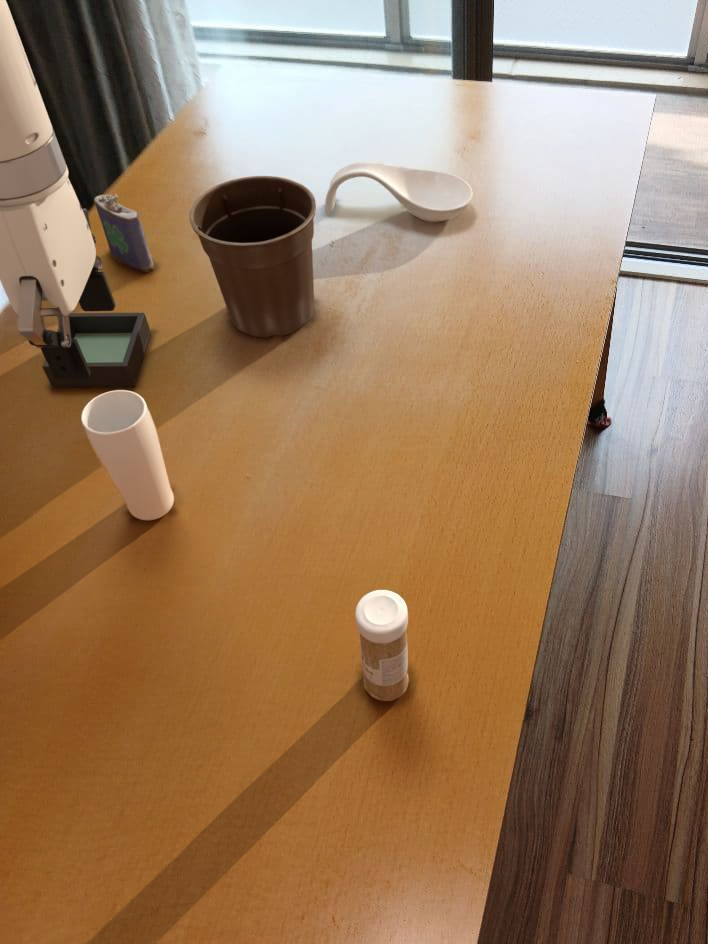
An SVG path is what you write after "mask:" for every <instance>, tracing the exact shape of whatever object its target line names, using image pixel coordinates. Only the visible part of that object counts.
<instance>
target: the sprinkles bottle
mask: <svg viewBox="0 0 708 944" xmlns="http://www.w3.org/2000/svg"><path fill="white" fill-rule="evenodd" d="M354 613H355V625H356V628H357V630H358V633H359V638H360V639H359V640H360V642H359V643H360V644H359V645H360V653H361V663H362V671H363V679H362V681H363V687H364V689H365V691H366V692H367V694H368V695H369V696H371V697H372V698H373V699H375V700H376V701H381V702H392V701H395V700H397V699H399V698H401V697H402V696H403V695H404V694H405V692H407V689H408V688H409V687H408V686H409V684H410V683H409V682H410V678H409V672H408V668H409V656H408V655H409V654H408V649H409V648H408V635H407V627H408V624H409V611H408V606H407V603H406V602H405V600H404V598H403V597H402V596H400V594H398V593H396V592H394V591H391V590H388V589H377V590H372V591H370V592H368V593H366V594H364V596H362V597H361V599H360V600H359V601H358V603H357V604H356V607H355V612H354Z"/></svg>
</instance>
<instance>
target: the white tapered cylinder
mask: <svg viewBox="0 0 708 944" xmlns="http://www.w3.org/2000/svg"><path fill="white" fill-rule="evenodd" d="M80 421H81V424H82V427H83V429H84V432H85V434H86V437H87V439H88V442H89V444H90V445H91V448H92V450H93V452H94V453H95V455H96V457H97V458H98V460H99V462H100V463H101V465H102V467H103V468H104V470H105V472H106V473H107V475H108V477H109V478H110V480H111V481H112V483H113V485H114V487H115V488H116V490H117V492H118V493H119V495H120V496H121V498H122V501H124V503H125V506H126V508H127V510H128V512H129V513H130V514H131V516H132V517H134V518H136V519H138V520H141V521H154V520H158V519H160V518H162V517H164V516H166V515H167V514H168V513H169V512H170V511H171V510H172V508H173V506H174V504H175V503H174V502H175V495H174V492H173V489H172V487H171V483H170V480H169V475H168V471H167V467H166V463H165V459H164V454H163V450H162V446H161V443H160V438H159V434H158V430H157V427H156V425H155V422H154V419H153V417H152V414H151V412H150V409H149V407H148V405H147V403H146V400H145V398H143V396H141V395H140V394H139V393H137V392H135V391H131V390H126V389H115V390H110V391H107V392H104V393H101V394H99V395H97V396H95V397H94V398H92V399H91V400H90V401H88V403H87V404H86V405H85V406H84V408H83V409H82V411H81V416H80Z"/></svg>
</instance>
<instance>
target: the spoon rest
mask: <svg viewBox="0 0 708 944" xmlns="http://www.w3.org/2000/svg"><path fill="white" fill-rule="evenodd" d="M355 178H369V179H372V180H374V181H376V182H377V183H379V185H381V186H383V187H384V188H385V189H386V190H387V191H388V192H389V193H390V194H391V195H392V196H393V197H394V198H395V199H396V200H397V202H398V203H400V205H401V206H402V207H403V208H404V209H405V210H406V211H407V212H409V214H411V215H412V216H414V217H416V218H418V219H419V220H422V221H424V222H427V223H438V222H442V221H443V222H444V221H448V220H450V219H453V218H455V217H457V216H458V215H460V214H462V213H463V212H464V211H465V210H466V209H467V208H468V207H469V206H470V204H471V203H472V201H473V198H474V197H473V196H474V193H473V189H472V187H471V185H470V184H469V183H468V182H467V181H465V180H464V179H463V178H461V177H459V176H457V175H454V174H451V173H448V172H444V171H439V170H433V169H424V168H415V167H408V166H402V165H397V164H396V165H395V164H390V163H384V162H383V163H382V162H375V161H360V162H354V163H350V164H348V165H346V166H343V167H342V168H340V169H339V170H337V172H335V174H334V175H333V176H332V178H331V180H330V183H329V187H328V190H327V192H326V195H325V204H324V212H325V213H326V214H330V213H331V212H332V211H333V210H334V208H335V204H336V200H337V191H338V189H339V187H340V185H341V184H343V183H345V182H347V181H348V180H351V179H355Z"/></svg>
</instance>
